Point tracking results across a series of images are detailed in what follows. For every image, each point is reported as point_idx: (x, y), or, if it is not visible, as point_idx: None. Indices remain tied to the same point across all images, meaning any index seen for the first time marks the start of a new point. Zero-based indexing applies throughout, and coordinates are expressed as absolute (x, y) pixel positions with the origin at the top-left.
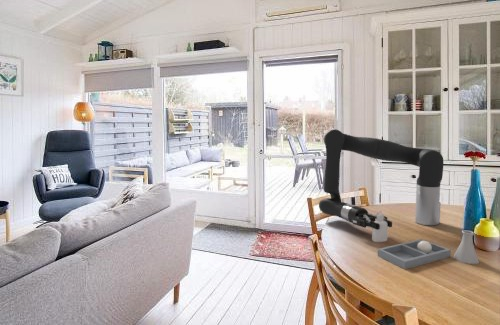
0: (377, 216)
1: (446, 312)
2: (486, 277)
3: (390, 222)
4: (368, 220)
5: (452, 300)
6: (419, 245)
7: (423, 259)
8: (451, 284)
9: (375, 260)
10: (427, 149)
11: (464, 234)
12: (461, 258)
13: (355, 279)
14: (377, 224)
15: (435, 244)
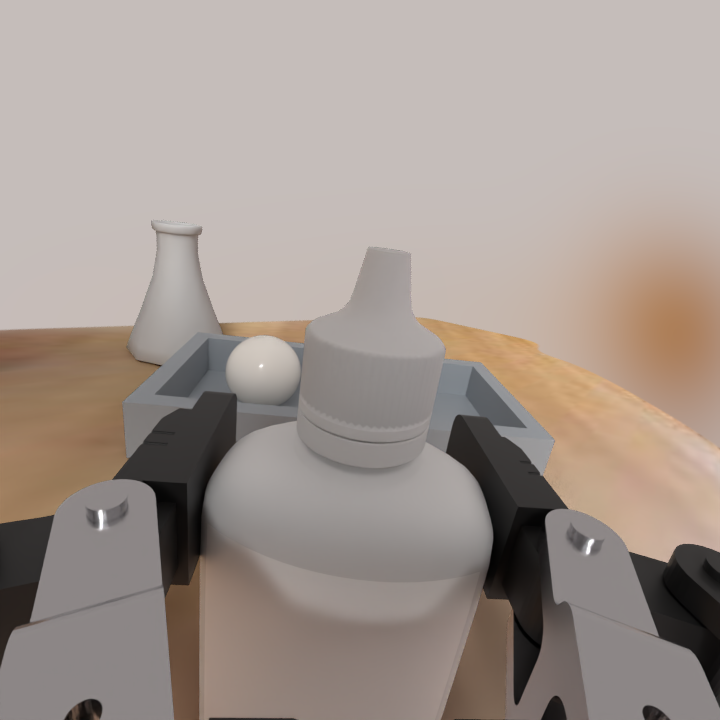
0: (438, 374)
1: (487, 336)
2: (267, 327)
3: (235, 400)
4: (603, 562)
5: (446, 337)
6: (298, 363)
7: None
8: None
9: (564, 474)
10: None
11: (193, 237)
12: (221, 334)
13: (691, 431)
14: (486, 423)
15: (175, 359)
